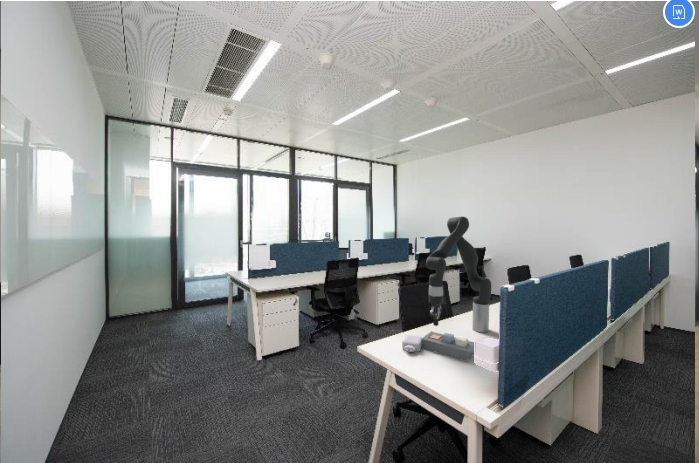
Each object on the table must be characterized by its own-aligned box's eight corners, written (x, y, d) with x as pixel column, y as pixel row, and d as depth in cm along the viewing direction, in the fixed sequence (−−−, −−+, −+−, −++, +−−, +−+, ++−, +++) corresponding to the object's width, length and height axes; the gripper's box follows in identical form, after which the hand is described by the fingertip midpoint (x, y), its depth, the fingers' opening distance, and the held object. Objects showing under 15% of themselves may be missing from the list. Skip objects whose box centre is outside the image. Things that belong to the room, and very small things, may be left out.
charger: (399, 354, 147) (405, 342, 161) (417, 357, 143) (422, 345, 157) (399, 345, 147) (405, 334, 160) (417, 348, 143) (422, 337, 157)
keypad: (431, 339, 164) (431, 331, 164) (475, 352, 149) (475, 342, 148) (421, 347, 154) (421, 338, 153) (467, 361, 139) (467, 351, 138)
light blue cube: (445, 341, 154) (445, 332, 154) (453, 344, 151) (453, 334, 151) (442, 344, 151) (442, 335, 150) (450, 347, 148) (450, 337, 148)
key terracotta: (432, 343, 159) (432, 334, 159) (440, 345, 156) (440, 336, 156) (429, 346, 155) (429, 336, 155) (437, 348, 152) (437, 339, 152)
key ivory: (458, 345, 150) (458, 335, 150) (467, 347, 147) (467, 338, 147) (455, 348, 146) (455, 338, 146) (464, 350, 143) (464, 341, 143)
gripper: (434, 290, 162) (434, 320, 162) (424, 295, 151) (424, 327, 152) (447, 292, 157) (447, 323, 158) (438, 297, 147) (438, 330, 147)
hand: (435, 325), depth 155 cm, fingers closed
